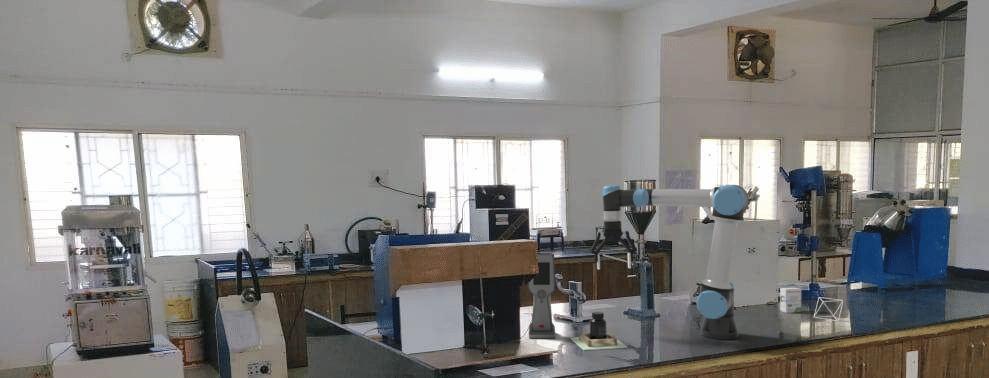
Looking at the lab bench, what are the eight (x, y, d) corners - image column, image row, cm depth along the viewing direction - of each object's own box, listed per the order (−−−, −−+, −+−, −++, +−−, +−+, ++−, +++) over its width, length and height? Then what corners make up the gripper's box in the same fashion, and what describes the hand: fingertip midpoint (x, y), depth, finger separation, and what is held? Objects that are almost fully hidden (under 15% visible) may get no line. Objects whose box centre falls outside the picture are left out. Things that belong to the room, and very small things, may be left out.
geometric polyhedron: (815, 320, 279) (815, 300, 279) (811, 314, 289) (811, 296, 289) (845, 322, 275) (846, 302, 275) (840, 316, 285) (840, 297, 285)
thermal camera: (555, 331, 263) (554, 252, 263) (556, 339, 250) (555, 256, 250) (529, 331, 264) (528, 252, 264) (528, 338, 251) (527, 256, 251)
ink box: (795, 310, 300) (795, 286, 299) (801, 312, 295) (801, 288, 295) (779, 311, 298) (779, 287, 298) (786, 313, 293) (786, 289, 293)
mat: (610, 336, 254) (610, 335, 254) (627, 347, 236) (627, 346, 236) (570, 338, 251) (570, 337, 251) (583, 350, 233) (583, 349, 233)
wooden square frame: (606, 337, 250) (606, 331, 250) (617, 345, 239) (616, 338, 239) (579, 339, 248) (579, 333, 248) (588, 346, 237) (588, 340, 237)
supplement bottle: (606, 340, 246) (606, 311, 246) (606, 344, 240) (606, 314, 239) (590, 339, 248) (589, 310, 247) (589, 343, 241) (589, 314, 241)
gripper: (638, 219, 266) (640, 266, 266) (582, 221, 266) (584, 268, 266) (642, 219, 259) (644, 268, 259) (585, 222, 259) (587, 270, 259)
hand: (614, 268), depth 262 cm, fingers open, 13 cm apart
